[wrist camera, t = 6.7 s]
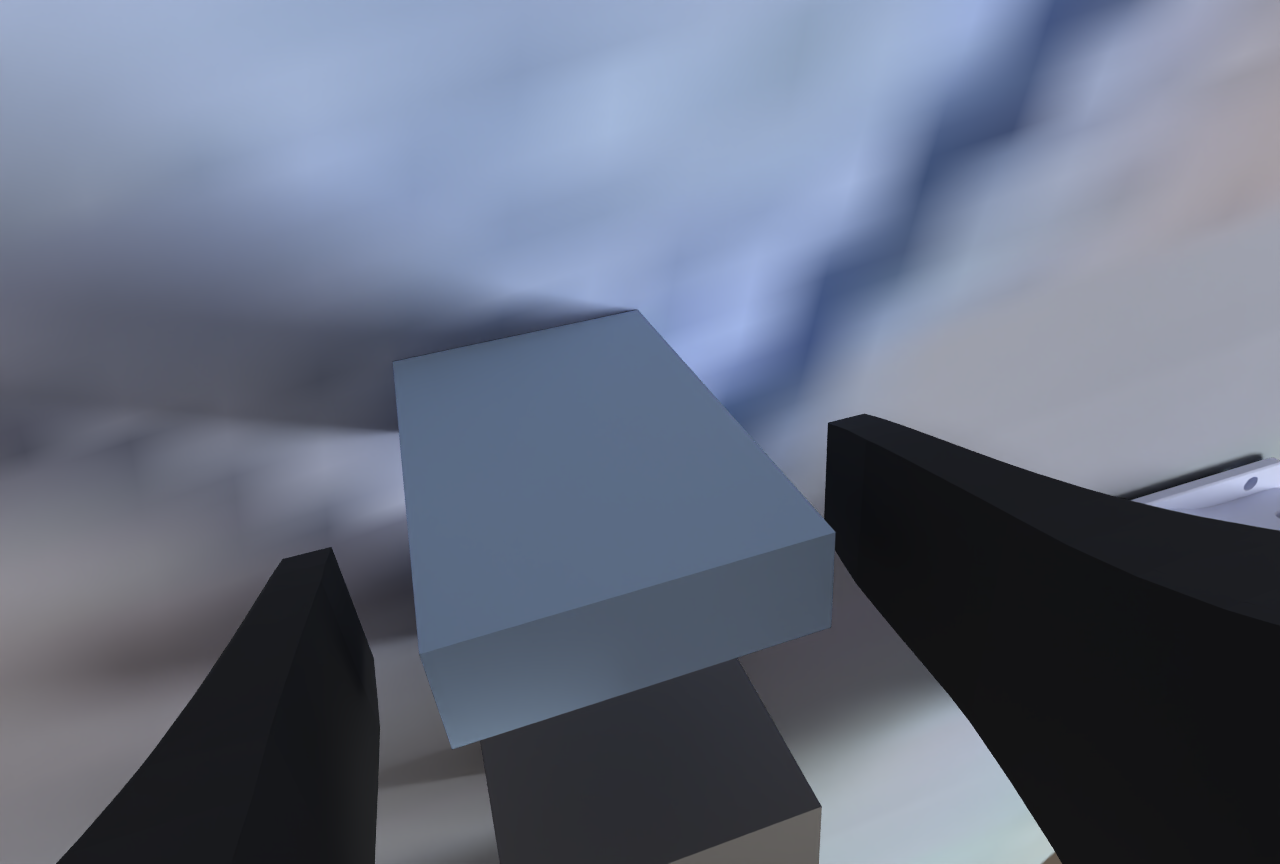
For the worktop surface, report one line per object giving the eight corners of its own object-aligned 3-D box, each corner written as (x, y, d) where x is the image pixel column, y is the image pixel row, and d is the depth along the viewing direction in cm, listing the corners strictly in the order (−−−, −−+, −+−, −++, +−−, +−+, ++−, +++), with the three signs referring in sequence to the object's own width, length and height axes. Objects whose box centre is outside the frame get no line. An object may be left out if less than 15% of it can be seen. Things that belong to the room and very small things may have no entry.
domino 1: (637, 309, 16) (835, 531, 9) (644, 378, 17) (831, 627, 10) (392, 361, 15) (419, 654, 8) (412, 432, 16) (452, 749, 9)
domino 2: (659, 520, 19) (821, 806, 12) (663, 570, 20) (819, 863, 13) (454, 575, 18) (509, 922, 11) (468, 626, 19) (527, 976, 12)
